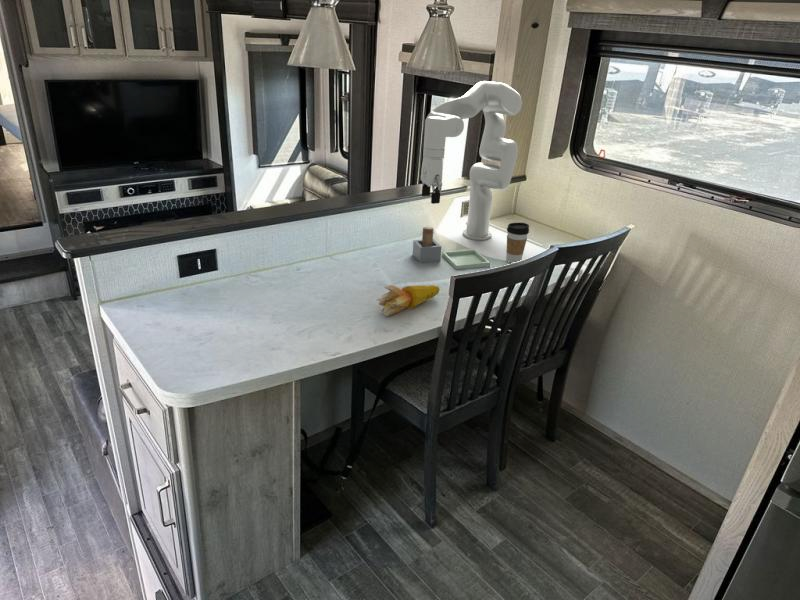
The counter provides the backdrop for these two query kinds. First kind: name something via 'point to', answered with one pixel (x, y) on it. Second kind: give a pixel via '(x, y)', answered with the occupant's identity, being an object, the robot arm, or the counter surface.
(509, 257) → the coffee cup
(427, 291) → the corn cob
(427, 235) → the walnut dowel
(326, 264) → the counter surface
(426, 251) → the square cup
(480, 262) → the sage tray
